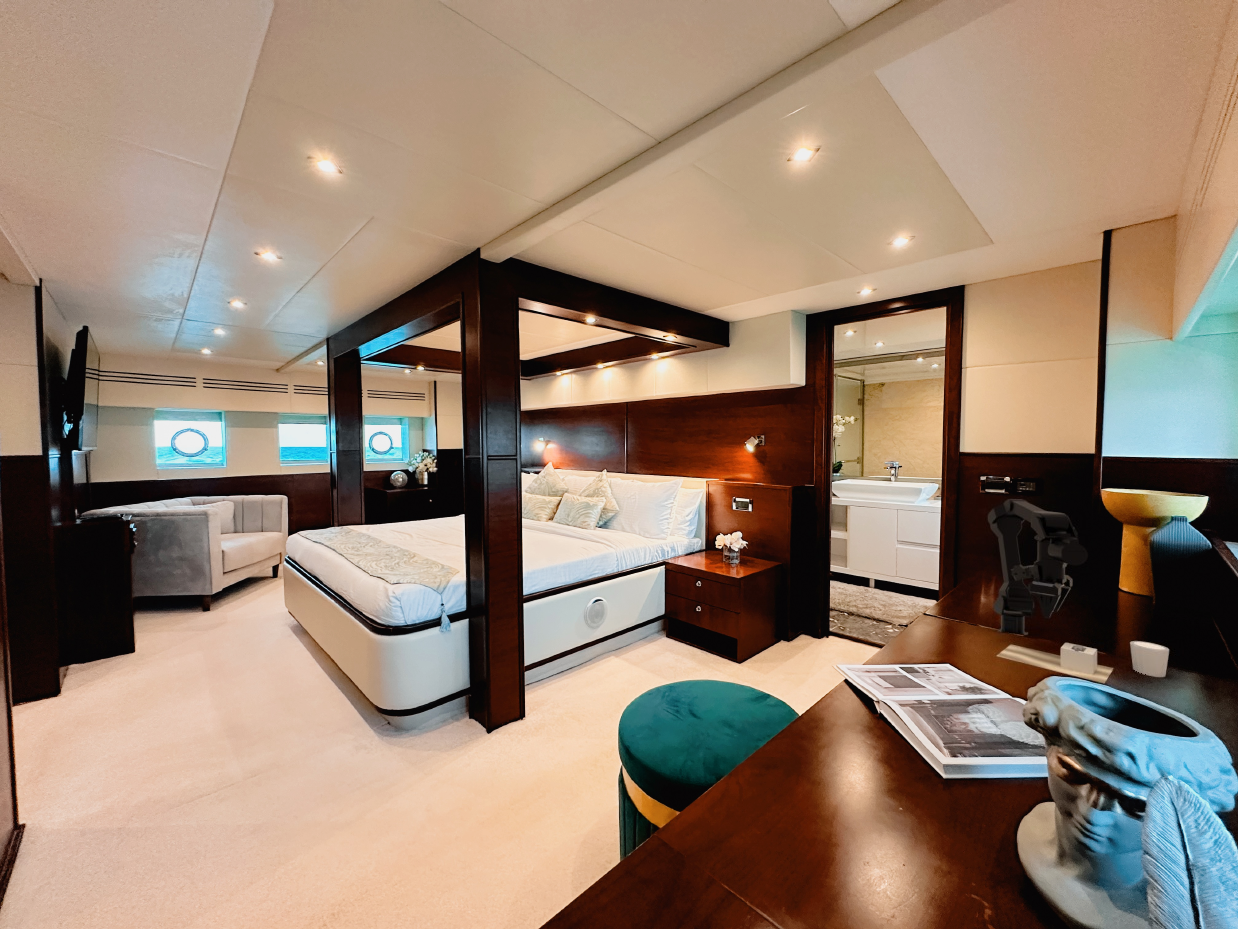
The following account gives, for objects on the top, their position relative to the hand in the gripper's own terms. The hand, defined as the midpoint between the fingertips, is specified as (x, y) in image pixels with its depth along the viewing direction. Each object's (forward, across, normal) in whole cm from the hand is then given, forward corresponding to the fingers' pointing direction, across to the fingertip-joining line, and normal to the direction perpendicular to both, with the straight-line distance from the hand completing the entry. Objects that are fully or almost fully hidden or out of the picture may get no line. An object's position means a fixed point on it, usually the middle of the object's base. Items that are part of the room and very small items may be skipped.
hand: (1050, 614), depth 135 cm
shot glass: (+12, -8, +18) cm, 23 cm away
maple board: (+12, +8, +2) cm, 15 cm away
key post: (+11, +8, +7) cm, 15 cm away
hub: (+10, +8, +7) cm, 15 cm away
